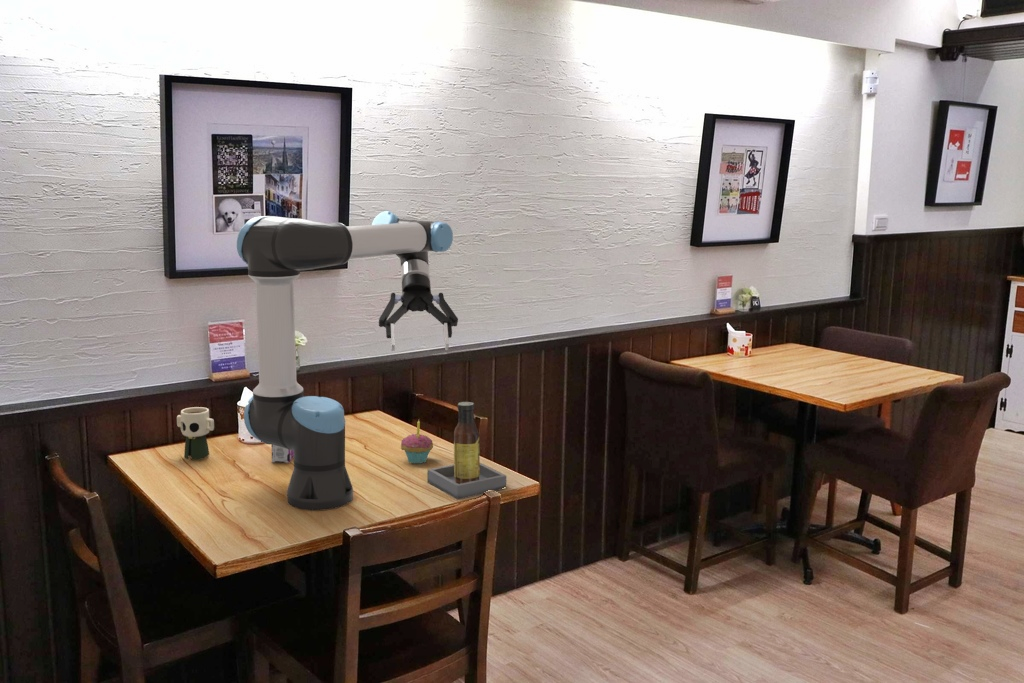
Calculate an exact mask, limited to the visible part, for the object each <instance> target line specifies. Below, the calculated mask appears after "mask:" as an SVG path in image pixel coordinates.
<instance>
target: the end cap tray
mask: <svg viewBox="0 0 1024 683" xmlns="http://www.w3.org/2000/svg"><path fill="white" fill-rule="evenodd" d="M507 477H508V476H507V475H506V474H504V473H502V472H500V471H497V469H494V468H492V467H490V466H488V465H486V464H484V463H481V462H480V475H479V480H476V481H471V482H466V483H462V484H458V483H456V482H455V476H454V463H453V464H449V465H445V466H444V465H443V466H439V467H434V468H429V469H427V483H428V484H430V485H432V487H433V486H434V487H435V488H436V489H439V490H440V491H441V492H444V493H445V494H447V495H449V496H450V497H452V498H454V499H456V500H461V499H465V498H470V497H475V496H479V495H483V493H484V492H486V491H488V490H497V491H500V490H499V489H502V488H504V487H506V488H507V479H508V478H507ZM502 490H503V489H502ZM497 491H496V492H497ZM484 494H485V493H484Z"/></svg>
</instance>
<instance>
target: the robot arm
mask: <svg viewBox="0 0 1024 683" xmlns="http://www.w3.org/2000/svg"><path fill="white" fill-rule="evenodd" d="M453 237H454V234H453V229H452V227H451V225H450V224H448V223H447V222H442V221H439V220H438V221H435V220H434V221H432V220H431V221H428V220H415V219H402V218H399V217H398V216H397V215H396V214H394V212H391V211H389V210H385V211H381V212H379V214H377V215H376V216H375V217H374V219H373V221H372V223H371V224H364V225H350V226H346V224H343V223H342V222H325V221H324V222H323V221H318V220H311V219H304V218H297V217H296V218H295V217H293V218H292V217H284V216H283V217H282V216H276V215H275V216H274V215H266V216H265V215H262V216H255V217H252V218H250V219H249V220H247V221H246V222H245V224H244V225H243V226H242V227H241V228H240V230H239V232H238V235H237V239H236V251H237V253H238V256H239V258H241V260H242V261H243V263H245V264H246V265H247V271H248V272H247V276H248V277H249V278H250V279H251V280H252V281H253V282H254V283H255V305H256V307H255V308H256V331H257V334H256V337H257V357H258V359H257V360H258V382H259V383H258V384H257V385H256V386H255V387H254V388H253V389H252V396H251V397H250V398H249V400H248V401H247V402H248V404H246V405H245V408H244V412H243V421H244V426H245V428H246V430H247V432H248V433H249V434H250V435H251V436H252V437H253V438H254V439H256V440H258V441H261V442H262V443H264V444H267V445H271V446H272V445H275V446H279V447H283V448H286V449H290V450H293V451H294V457H293V470H292V474H291V477H290V480H289V483H288V487H287V490H286V502H287V505H289V506H291V507H293V508H295V509H298V510H303V511H304V510H305V511H327V510H328V511H329V510H333V509H337V508H340V507H344V506H345V505H348V504H349V503H351V502H352V501H353V499H354V488H353V484H352V481H351V479H350V476H349V473H348V470H347V468H346V419H345V410H344V407H343V405H342V404H341V403H340V402H339V401H337V400H335V399H333V398H329V397H326V396H317V395H307V396H304V387H303V386H302V385H301V384H299V383H298V381H297V357H296V356H297V355H296V352H297V350H296V323H295V322H296V321H295V316H296V314H295V292H294V291H295V290H294V288H295V286H294V285H295V284H294V283H295V281H296V280H297V279H298V278H299V277H300V275H301V271H308V270H315V269H321V268H327V267H333V266H340V265H341V266H342V265H344V264H346V263H348V262H349V261H350V260H355V259H363V258H372V257H381V256H390V255H396V256H397V257H398V258H399V261H400V273H401V274H400V275H401V293H402V294H400V295H398V294H396V293H395V292H391V293H390V297H389V298H390V299H389V301H388V303H387V304H386V306H385V308H384V310H383V311H382V314H380V317H379V319H378V326H379V328H385V334H386V336H385V337H386V338H387V339H390V348H391V351H392V352H394V351H395V348H396V346H395V345H396V343H395V342H396V340H395V324H396V323H397V322H398V321H399V320H400V319H401V318H402V317H403V316H404V315H406V314H407V313H409V311H411V312H424V311H425V312H427V314H429V315H432V317H434V318H435V320H437V321H438V322H439V323H441V324H442V325H443V330H442V331H443V340H444V349H445V351H449V346H450V343H449V342H450V341H449V338H452V335H453V329H452V328H453V327H457V326H458V322H459V318H458V317H457V315H456V313H455V312H454V311H453V310H452V308H451V306H450V305H449V304H448V303H447V301H446V300H445V296H444V293H443V292H438V294H436V295H435V294H434V295H433V293H432V290H431V275H430V266H429V265H430V264H429V252H434V253H439V252H440V253H441V252H446V251H447V250H449V249H450V248H451V246H452V244H453V241H454V239H453ZM399 301H400V302H401V303H402V304H401V305H400V306H399V307H398V309H396V310H395V311H394V313H393V314H391V313H392V312H393V309H394V308H395V305H397V304H398V303H399ZM434 301H435V303H436V304H437V305H438V306H439V307H440V309H441V310H440V309H439V308H438V307H437V306H435V304H434V303H433V302H434ZM390 315H391V316H390Z"/></svg>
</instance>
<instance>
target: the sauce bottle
mask: <svg viewBox="0 0 1024 683" xmlns="http://www.w3.org/2000/svg"><path fill="white" fill-rule="evenodd" d="M457 410H458V420H457V421H458V422H457V425H456V426H455V428H454V431H453V439H454V440H453V464H454V476H455V482H456V483H458V484H462V483H466V482H471V481H476V480H479V475H480V463H481V462H480V434H479V431H478V427H477V424H476V421H475V403H474V402H470V401H460V402H458V403H457Z"/></svg>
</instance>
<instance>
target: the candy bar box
mask: <svg viewBox="0 0 1024 683" xmlns="http://www.w3.org/2000/svg"><path fill="white" fill-rule="evenodd" d="M293 459H294V451H293V450H290V449H286V448H283V447H279V446H275V445H272V444H271V463H273V464H290V463H291V462H292V460H293Z"/></svg>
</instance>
